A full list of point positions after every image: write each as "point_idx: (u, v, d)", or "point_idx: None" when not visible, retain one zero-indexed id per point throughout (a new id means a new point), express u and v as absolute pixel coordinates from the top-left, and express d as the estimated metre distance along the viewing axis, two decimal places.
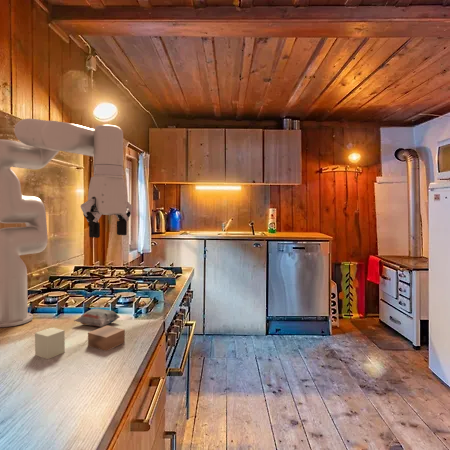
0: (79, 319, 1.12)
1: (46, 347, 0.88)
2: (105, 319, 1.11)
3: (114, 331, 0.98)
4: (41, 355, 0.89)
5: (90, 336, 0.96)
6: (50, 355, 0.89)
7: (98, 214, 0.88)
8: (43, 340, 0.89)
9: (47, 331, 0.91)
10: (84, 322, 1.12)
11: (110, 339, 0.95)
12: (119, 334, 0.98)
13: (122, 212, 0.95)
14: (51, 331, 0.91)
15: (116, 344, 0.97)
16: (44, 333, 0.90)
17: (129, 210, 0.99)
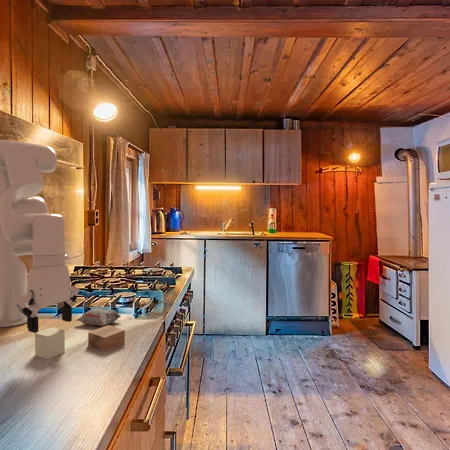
0: (80, 318, 1.13)
1: (46, 347, 0.88)
2: (106, 318, 1.11)
3: (114, 331, 0.98)
4: (41, 355, 0.89)
5: (90, 335, 0.96)
6: (50, 355, 0.89)
7: (36, 308, 0.85)
8: (43, 340, 0.89)
9: (47, 331, 0.91)
10: (85, 321, 1.12)
11: (109, 339, 0.95)
12: (119, 334, 0.98)
13: (65, 299, 0.92)
14: (51, 331, 0.91)
15: (115, 344, 0.97)
16: (44, 333, 0.90)
17: (75, 294, 0.97)
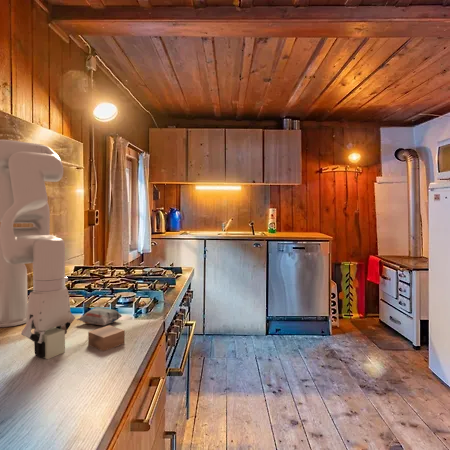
0: (82, 318, 1.13)
1: (46, 347, 0.88)
2: (107, 318, 1.12)
3: (114, 331, 0.98)
4: None
5: (90, 335, 0.97)
6: (50, 355, 0.89)
7: (41, 334, 0.87)
8: (43, 340, 0.88)
9: (47, 331, 0.91)
10: (87, 321, 1.13)
11: (108, 340, 0.95)
12: (118, 334, 0.97)
13: (65, 322, 0.93)
14: (51, 331, 0.91)
15: (115, 345, 0.97)
16: None
17: (69, 321, 0.96)
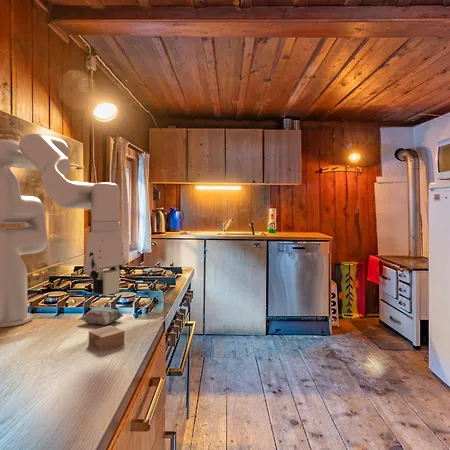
0: (83, 317, 1.14)
1: (104, 284, 0.94)
2: (109, 317, 1.12)
3: (113, 332, 0.97)
4: None
5: (90, 334, 0.97)
6: (108, 292, 0.95)
7: (100, 271, 0.94)
8: (101, 277, 0.95)
9: (103, 271, 0.97)
10: (88, 320, 1.13)
11: (107, 340, 0.95)
12: (118, 335, 0.97)
13: (119, 263, 0.99)
14: (107, 271, 0.97)
15: (114, 345, 0.96)
16: (102, 272, 0.96)
17: (122, 264, 1.02)
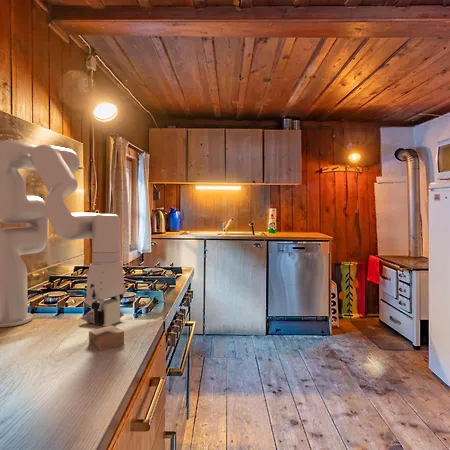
0: (84, 317, 1.14)
1: (105, 315, 0.95)
2: None
3: (113, 332, 0.97)
4: None
5: (90, 334, 0.97)
6: (109, 322, 0.95)
7: (100, 303, 0.94)
8: (102, 308, 0.95)
9: (104, 301, 0.98)
10: (89, 320, 1.14)
11: (106, 340, 0.94)
12: (117, 335, 0.97)
13: (119, 293, 0.99)
14: (108, 301, 0.97)
15: (113, 345, 0.96)
16: None
17: (122, 293, 1.02)
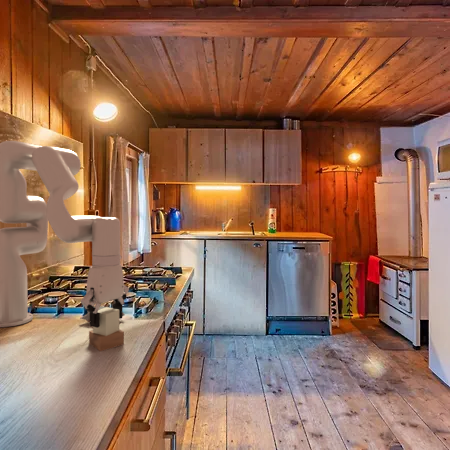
0: (85, 317, 1.14)
1: (105, 324, 0.95)
2: None
3: None
4: (99, 332, 0.96)
5: (90, 334, 0.97)
6: (108, 332, 0.95)
7: (97, 305, 0.93)
8: (102, 318, 0.95)
9: (103, 310, 0.98)
10: None
11: (106, 340, 0.94)
12: (117, 335, 0.97)
13: (119, 296, 0.99)
14: (108, 310, 0.97)
15: (113, 345, 0.96)
16: (102, 312, 0.96)
17: (125, 292, 1.03)
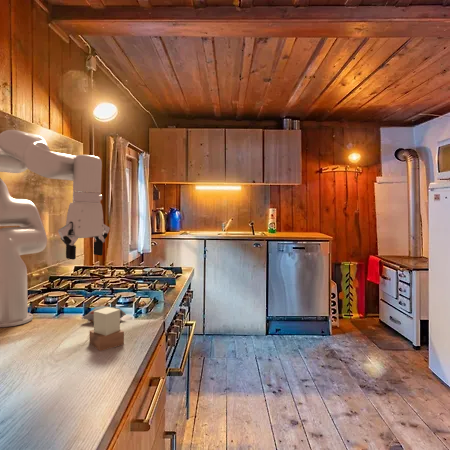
0: (86, 316, 1.15)
1: (105, 324, 0.95)
2: None
3: None
4: (100, 332, 0.96)
5: (91, 334, 0.98)
6: (108, 332, 0.95)
7: (74, 238, 0.96)
8: (102, 318, 0.95)
9: (104, 310, 0.98)
10: (91, 319, 1.15)
11: (105, 340, 0.94)
12: (117, 335, 0.97)
13: (98, 235, 1.02)
14: (108, 310, 0.98)
15: (113, 345, 0.96)
16: (102, 311, 0.97)
17: (106, 232, 1.07)
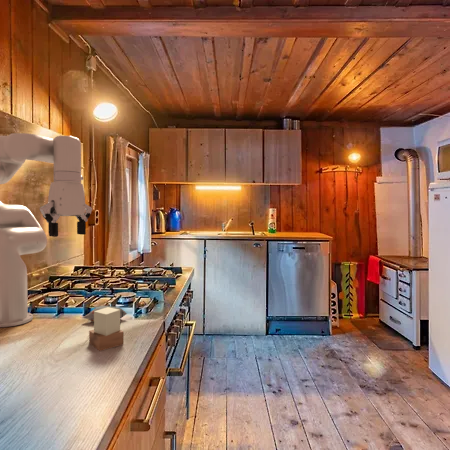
0: (88, 316, 1.15)
1: (105, 324, 0.95)
2: None
3: None
4: (100, 332, 0.96)
5: (90, 334, 0.98)
6: (108, 332, 0.95)
7: (56, 215, 0.99)
8: (102, 318, 0.95)
9: (104, 310, 0.98)
10: (92, 319, 1.15)
11: (105, 340, 0.95)
12: (116, 335, 0.97)
13: (80, 214, 1.06)
14: (108, 310, 0.98)
15: (112, 345, 0.96)
16: (103, 311, 0.97)
17: (88, 212, 1.10)
